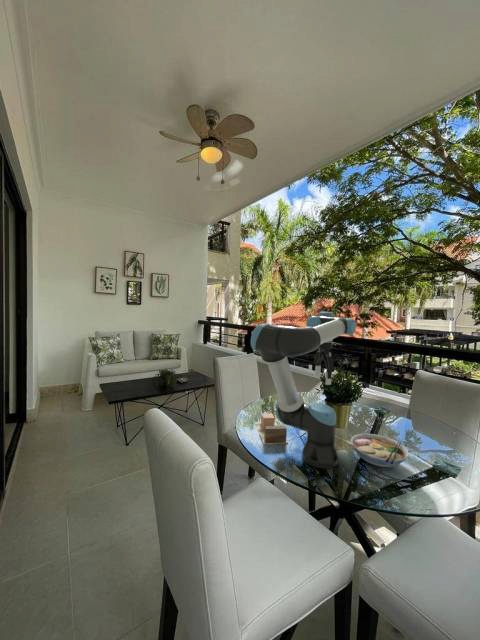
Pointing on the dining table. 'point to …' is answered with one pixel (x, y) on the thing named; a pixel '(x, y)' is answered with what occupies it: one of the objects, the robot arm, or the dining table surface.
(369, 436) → the ramen bowl
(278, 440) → the wooden brown box
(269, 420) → the block
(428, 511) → the dining table surface
